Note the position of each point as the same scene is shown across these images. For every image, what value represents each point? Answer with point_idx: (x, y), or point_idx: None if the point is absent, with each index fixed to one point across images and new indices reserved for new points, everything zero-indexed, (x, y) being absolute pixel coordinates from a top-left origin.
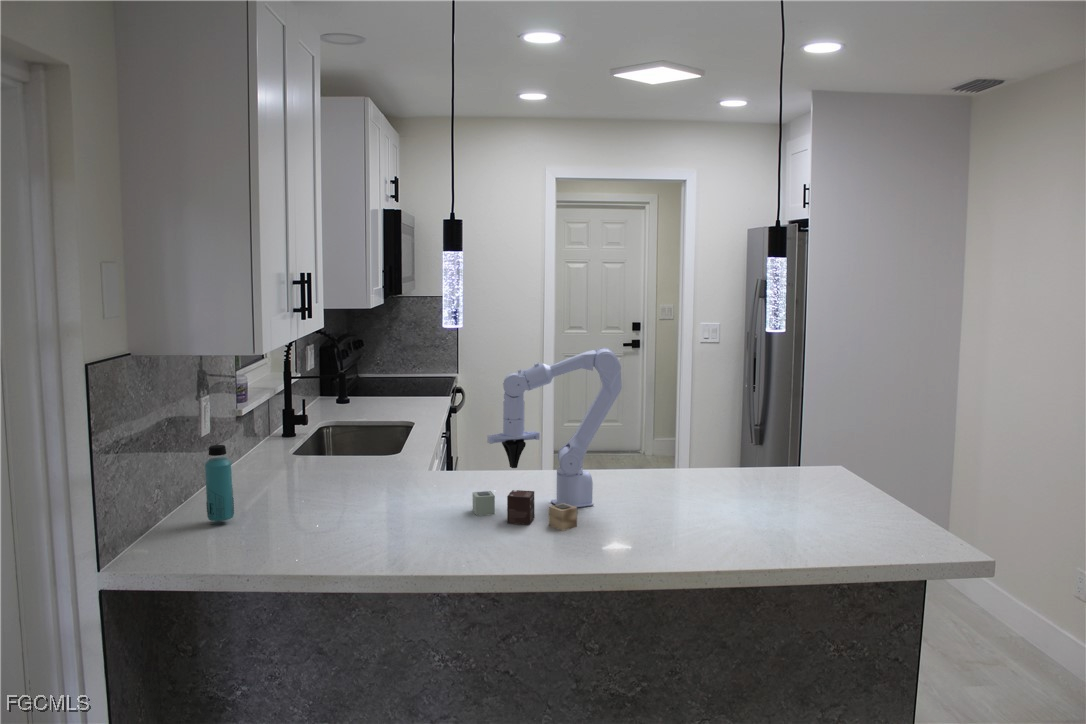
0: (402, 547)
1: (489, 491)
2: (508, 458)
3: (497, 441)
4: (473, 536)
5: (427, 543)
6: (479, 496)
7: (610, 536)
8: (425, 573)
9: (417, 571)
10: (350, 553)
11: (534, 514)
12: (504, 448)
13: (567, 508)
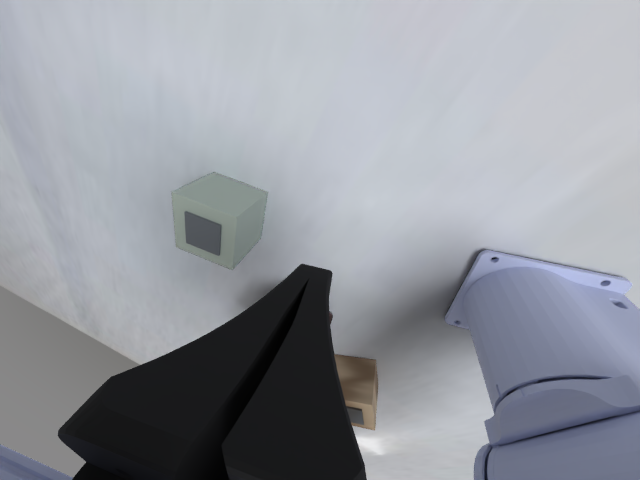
0: (82, 282)
1: (230, 220)
2: (270, 295)
3: (2, 473)
4: (186, 311)
5: (116, 291)
6: (187, 247)
7: (390, 430)
8: (123, 353)
9: (114, 345)
10: (17, 259)
11: (330, 323)
12: (186, 345)
13: (352, 421)
